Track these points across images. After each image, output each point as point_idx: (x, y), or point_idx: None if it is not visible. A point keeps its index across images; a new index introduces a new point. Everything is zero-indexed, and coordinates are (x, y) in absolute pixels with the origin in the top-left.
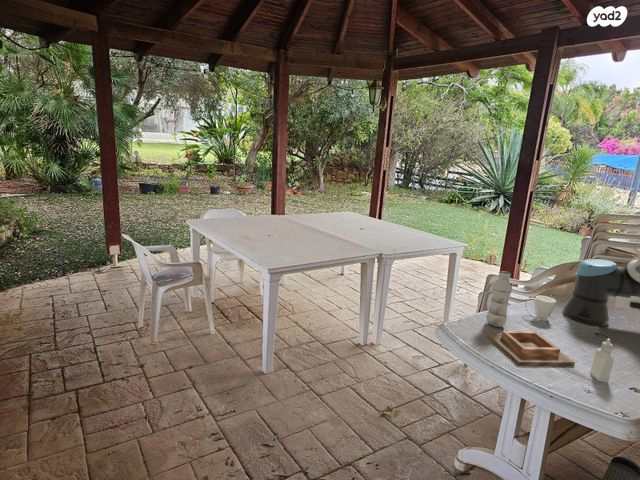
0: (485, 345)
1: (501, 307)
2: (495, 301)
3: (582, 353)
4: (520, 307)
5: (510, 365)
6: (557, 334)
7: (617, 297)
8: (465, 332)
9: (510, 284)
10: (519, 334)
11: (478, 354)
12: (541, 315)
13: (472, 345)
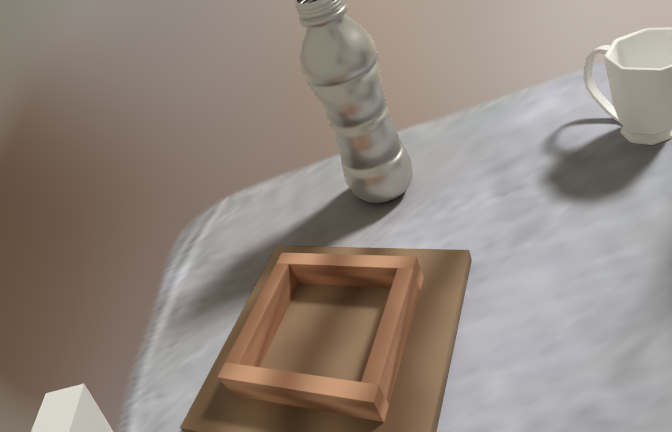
0: (221, 302)
1: (348, 140)
2: (327, 118)
3: (592, 395)
4: None
5: (165, 428)
6: (607, 239)
7: (43, 414)
8: (242, 231)
9: (344, 45)
10: (336, 270)
11: (144, 349)
12: (627, 125)
13: (183, 299)
